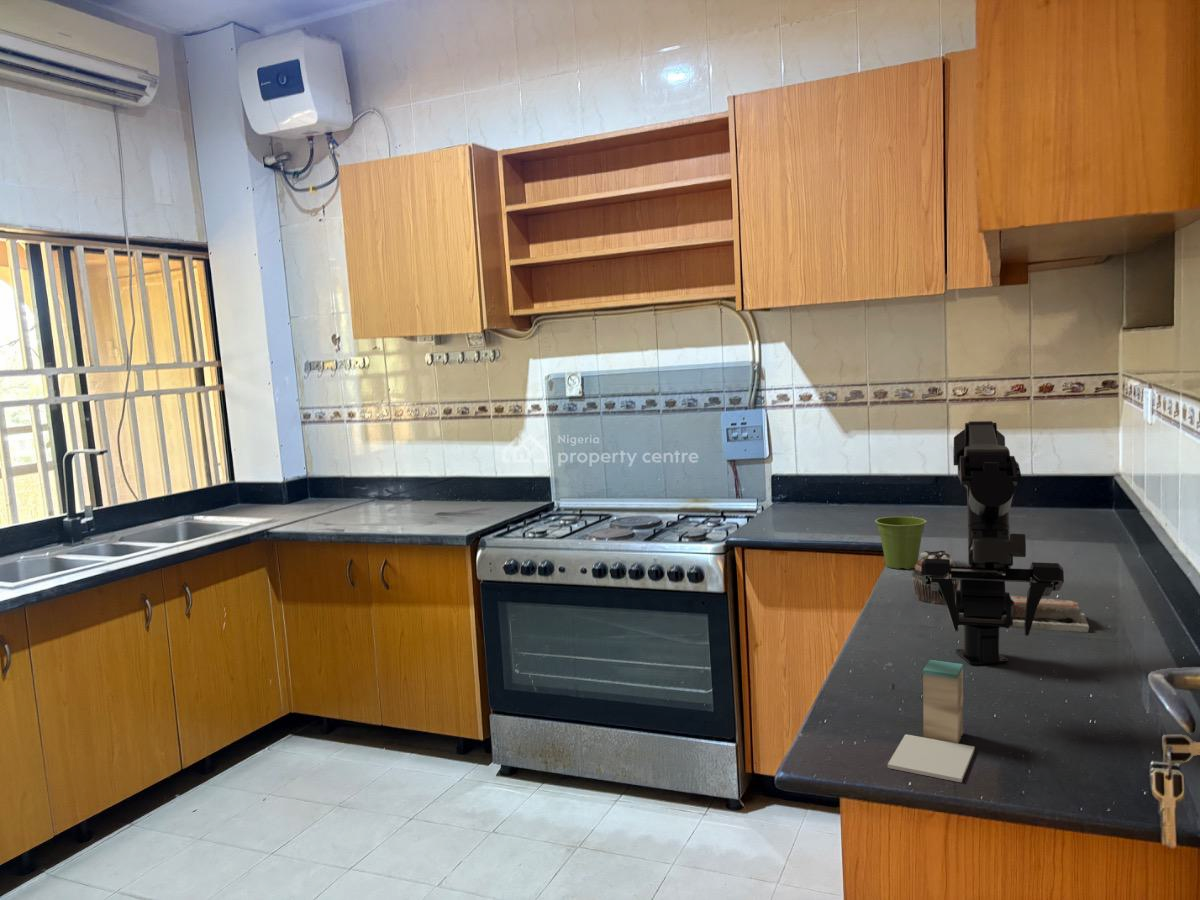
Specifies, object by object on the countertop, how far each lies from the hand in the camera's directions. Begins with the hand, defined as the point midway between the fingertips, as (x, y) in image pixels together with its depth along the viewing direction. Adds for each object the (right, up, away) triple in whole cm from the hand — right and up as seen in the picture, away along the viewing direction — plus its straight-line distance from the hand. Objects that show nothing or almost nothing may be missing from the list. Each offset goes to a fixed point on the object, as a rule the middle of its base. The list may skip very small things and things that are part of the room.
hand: (991, 633), depth 127 cm
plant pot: (+17, -2, +90) cm, 91 cm away
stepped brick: (+28, -7, +44) cm, 53 cm away
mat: (-12, -15, -9) cm, 21 cm away
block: (-8, -14, -3) cm, 16 cm away
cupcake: (+15, -5, +62) cm, 64 cm away
